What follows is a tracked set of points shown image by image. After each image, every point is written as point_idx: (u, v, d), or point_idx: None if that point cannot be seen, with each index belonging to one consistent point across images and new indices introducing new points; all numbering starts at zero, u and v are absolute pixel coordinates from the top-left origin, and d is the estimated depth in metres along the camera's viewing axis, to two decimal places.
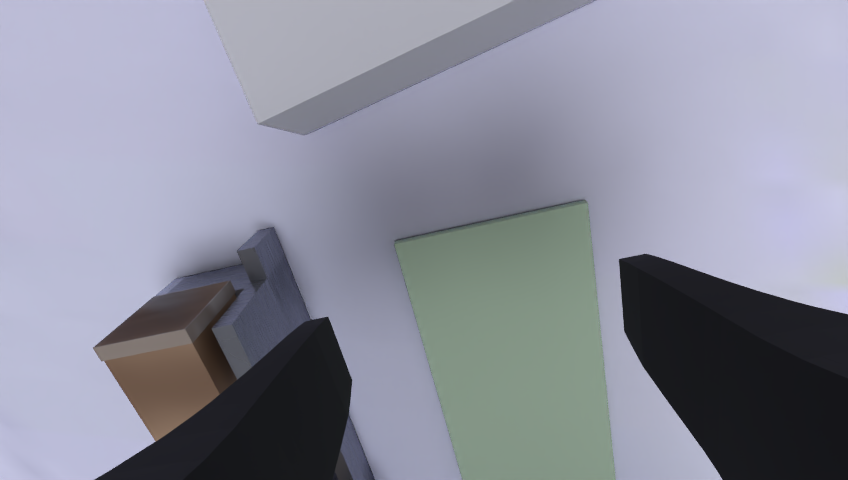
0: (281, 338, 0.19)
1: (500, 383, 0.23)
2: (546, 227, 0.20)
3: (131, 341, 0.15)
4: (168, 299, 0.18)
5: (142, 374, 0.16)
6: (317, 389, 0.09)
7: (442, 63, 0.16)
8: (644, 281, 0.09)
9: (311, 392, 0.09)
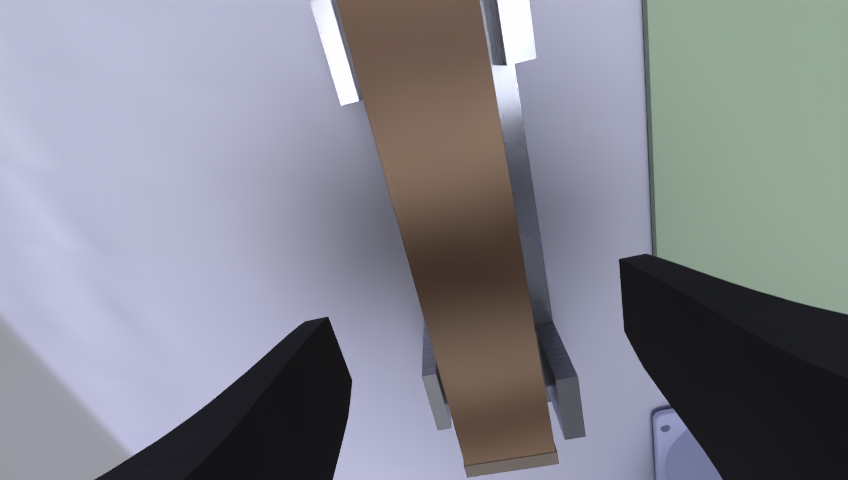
0: None
1: (739, 172, 0.18)
2: None
3: None
4: None
5: (382, 11, 0.11)
6: (317, 389, 0.09)
7: None
8: (644, 281, 0.09)
9: (311, 392, 0.09)
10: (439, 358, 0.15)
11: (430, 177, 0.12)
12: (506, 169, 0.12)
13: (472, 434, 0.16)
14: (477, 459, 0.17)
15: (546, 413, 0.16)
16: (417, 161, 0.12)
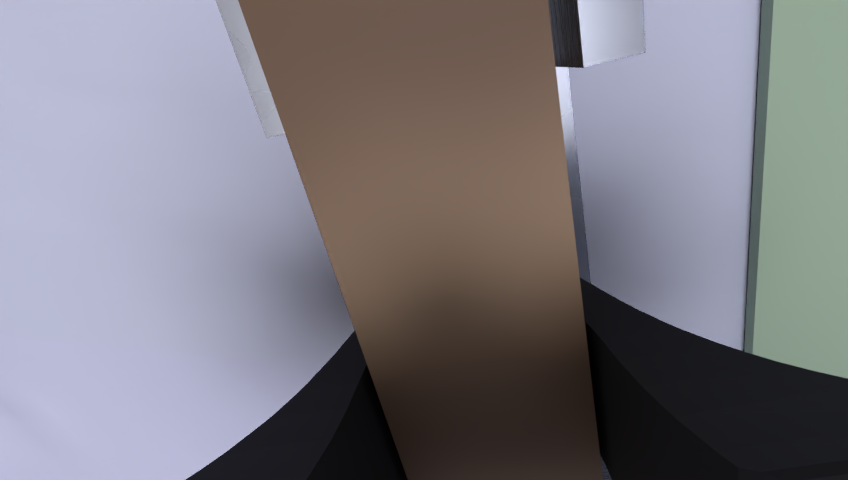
0: None
1: None
2: None
3: None
4: None
5: None
6: None
7: None
8: None
9: None
10: None
11: (426, 283, 0.06)
12: (575, 271, 0.06)
13: None
14: None
15: None
16: (400, 256, 0.06)
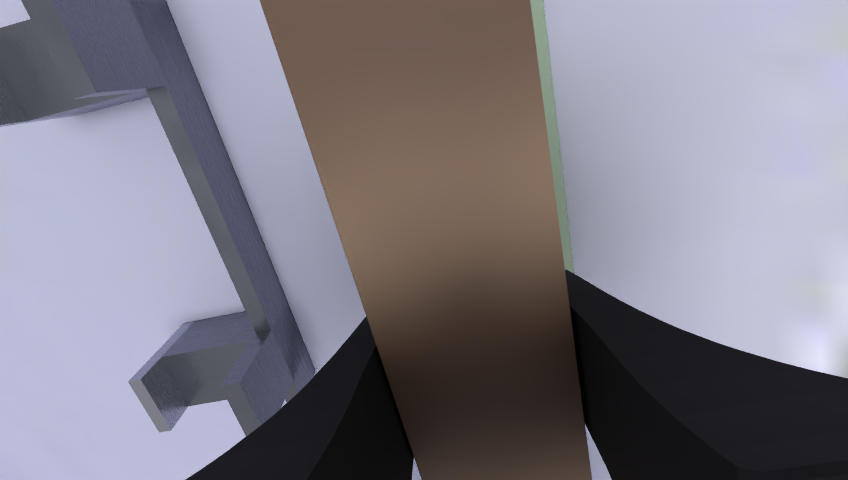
0: (145, 75, 0.15)
1: None
2: None
3: None
4: None
5: None
6: None
7: None
8: None
9: None
10: None
11: (426, 260, 0.07)
12: (559, 249, 0.07)
13: None
14: None
15: None
16: (403, 236, 0.07)
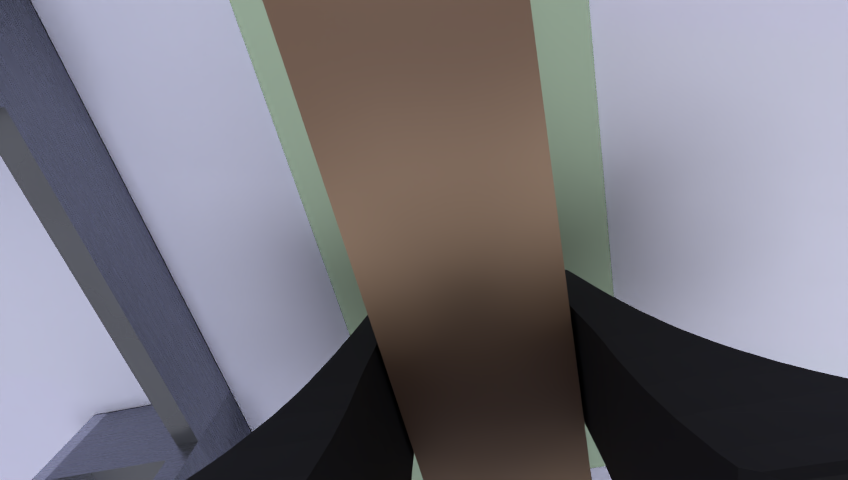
0: None
1: None
2: None
3: None
4: None
5: None
6: None
7: None
8: None
9: None
10: None
11: (427, 258, 0.07)
12: (558, 246, 0.07)
13: None
14: None
15: None
16: (404, 233, 0.07)
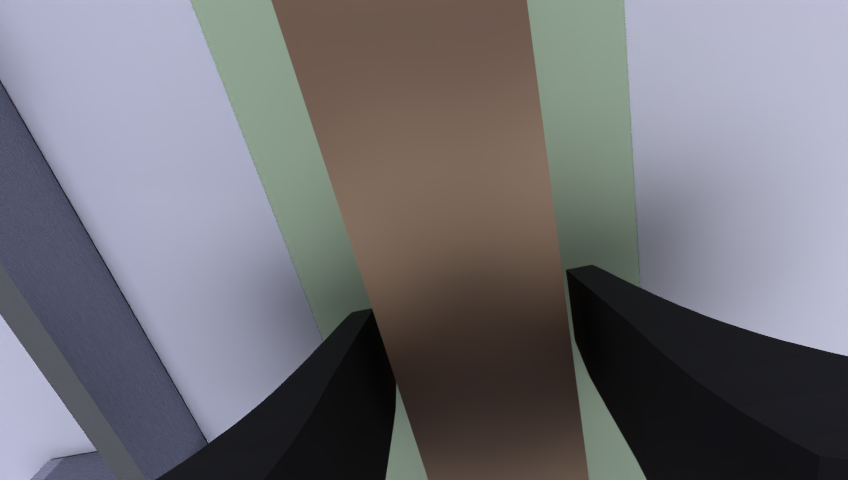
0: None
1: None
2: None
3: None
4: None
5: None
6: (371, 379, 0.09)
7: None
8: (583, 293, 0.09)
9: (366, 382, 0.09)
10: None
11: (429, 250, 0.07)
12: (555, 239, 0.07)
13: None
14: None
15: None
16: (406, 227, 0.07)
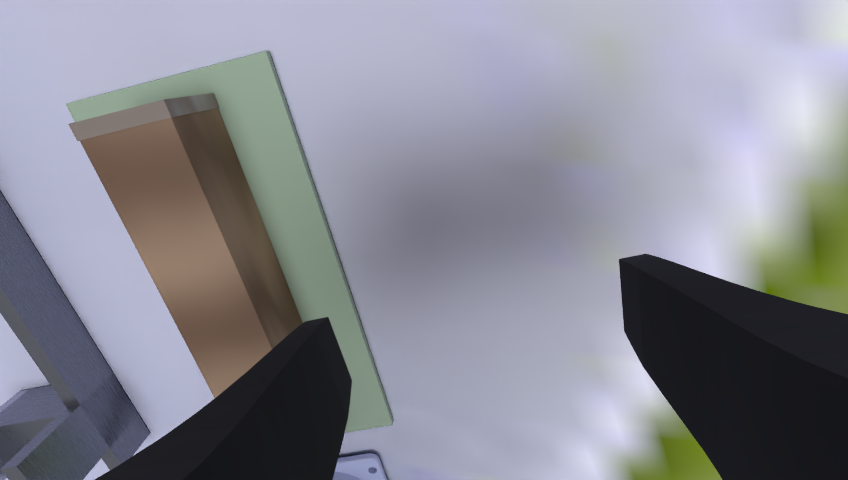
0: None
1: None
2: (228, 82, 0.18)
3: (108, 115, 0.15)
4: None
5: (120, 158, 0.15)
6: (317, 389, 0.09)
7: None
8: (644, 281, 0.09)
9: (311, 392, 0.09)
10: (216, 395, 0.19)
11: (179, 266, 0.17)
12: (232, 262, 0.17)
13: None
14: None
15: None
16: (166, 256, 0.17)
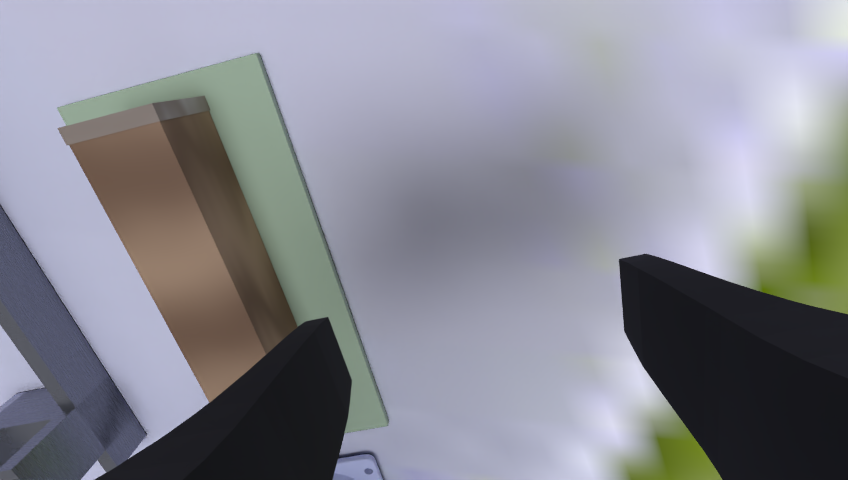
0: None
1: None
2: (218, 85, 0.18)
3: (97, 119, 0.15)
4: None
5: (109, 162, 0.15)
6: (317, 389, 0.09)
7: None
8: (644, 281, 0.09)
9: (312, 392, 0.09)
10: (209, 397, 0.19)
11: (170, 269, 0.17)
12: (224, 265, 0.17)
13: None
14: None
15: None
16: (157, 259, 0.17)
